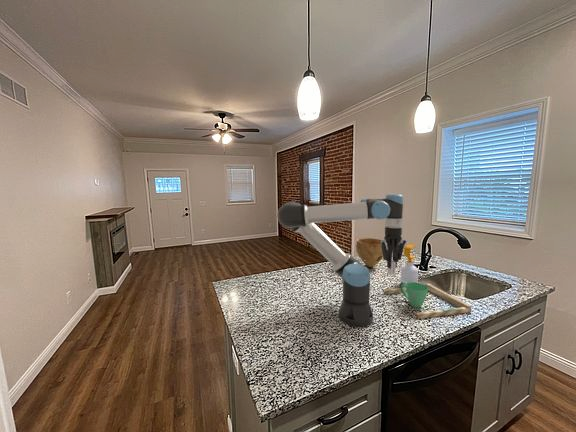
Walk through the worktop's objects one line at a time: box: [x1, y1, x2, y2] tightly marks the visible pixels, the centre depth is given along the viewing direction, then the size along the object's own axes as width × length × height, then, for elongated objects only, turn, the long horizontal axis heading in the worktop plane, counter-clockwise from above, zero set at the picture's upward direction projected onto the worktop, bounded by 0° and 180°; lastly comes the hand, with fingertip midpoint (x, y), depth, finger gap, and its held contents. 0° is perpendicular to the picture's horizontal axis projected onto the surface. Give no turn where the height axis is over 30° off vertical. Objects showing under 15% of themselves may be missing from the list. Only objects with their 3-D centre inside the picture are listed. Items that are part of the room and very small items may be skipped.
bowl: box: [355, 237, 387, 268], centre depth 179 cm, size 21×20×20 cm
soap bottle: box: [400, 243, 419, 288], centre depth 145 cm, size 9×9×25 cm
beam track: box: [383, 283, 472, 319], centre depth 126 cm, size 28×27×3 cm
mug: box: [399, 281, 429, 309], centre depth 124 cm, size 15×10×10 cm
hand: (391, 273), depth 121 cm, fingers closed
